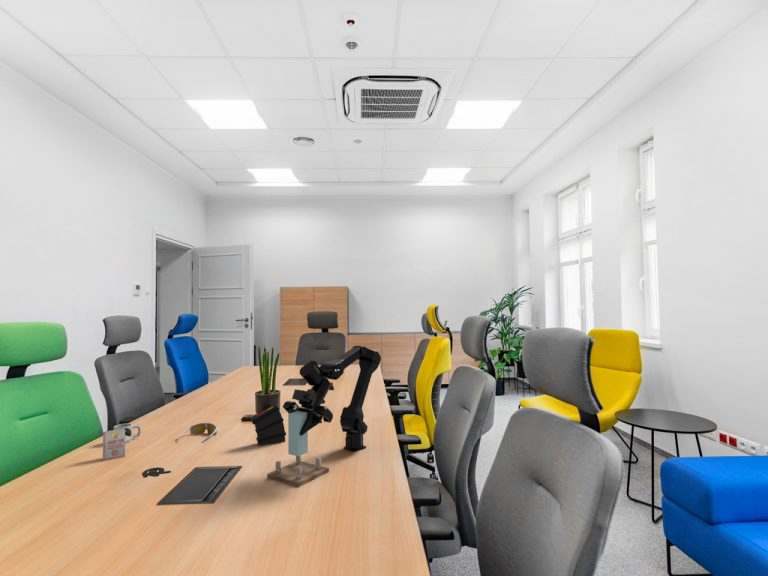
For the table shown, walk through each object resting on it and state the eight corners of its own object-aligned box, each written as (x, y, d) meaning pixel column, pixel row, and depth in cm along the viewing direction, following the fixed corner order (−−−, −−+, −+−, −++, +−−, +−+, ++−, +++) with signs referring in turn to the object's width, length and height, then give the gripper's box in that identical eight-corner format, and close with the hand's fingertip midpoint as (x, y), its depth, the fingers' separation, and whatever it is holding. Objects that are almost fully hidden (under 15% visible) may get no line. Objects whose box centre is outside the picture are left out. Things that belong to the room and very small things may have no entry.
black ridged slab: (293, 436, 175) (277, 404, 173) (263, 455, 170) (246, 422, 168) (291, 434, 178) (275, 403, 176) (262, 452, 173) (245, 420, 171)
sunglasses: (222, 433, 188) (221, 422, 188) (205, 448, 173) (204, 437, 173) (192, 432, 189) (191, 422, 189) (173, 448, 175) (172, 436, 174)
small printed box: (102, 458, 158) (103, 430, 158) (123, 454, 162) (124, 427, 162) (103, 460, 155) (103, 433, 155) (125, 456, 159) (125, 429, 159)
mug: (114, 445, 173) (115, 428, 173) (112, 441, 178) (112, 425, 178) (142, 439, 179) (142, 424, 180) (139, 436, 184) (139, 421, 185)
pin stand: (298, 463, 148) (298, 450, 149) (328, 471, 141) (328, 457, 141) (267, 477, 137) (267, 462, 137) (299, 486, 129) (299, 471, 129)
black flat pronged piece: (175, 471, 144) (175, 469, 144) (156, 480, 137) (156, 478, 137) (153, 468, 147) (153, 466, 147) (134, 477, 140) (134, 474, 140)
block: (298, 450, 142) (297, 410, 143) (307, 452, 140) (307, 412, 140) (288, 454, 138) (288, 413, 139) (298, 456, 136) (297, 415, 137)
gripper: (286, 377, 149) (261, 416, 139) (327, 381, 138) (303, 424, 129) (302, 396, 155) (279, 434, 145) (342, 401, 145) (321, 443, 135)
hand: (295, 433), depth 138 cm, fingers closed on block, 4 cm apart
